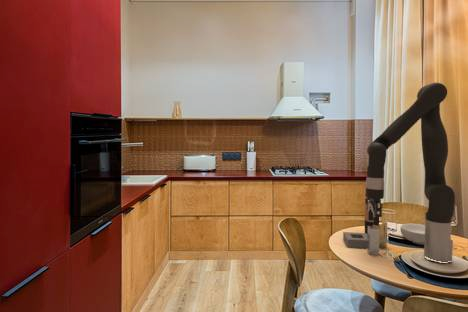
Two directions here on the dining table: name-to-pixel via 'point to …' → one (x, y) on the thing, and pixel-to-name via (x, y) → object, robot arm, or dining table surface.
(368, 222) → the travel mug
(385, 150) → the robot arm
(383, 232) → the round bit
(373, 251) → the square bit
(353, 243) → the socket block
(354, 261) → the dining table surface
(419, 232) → the cereal bowl
